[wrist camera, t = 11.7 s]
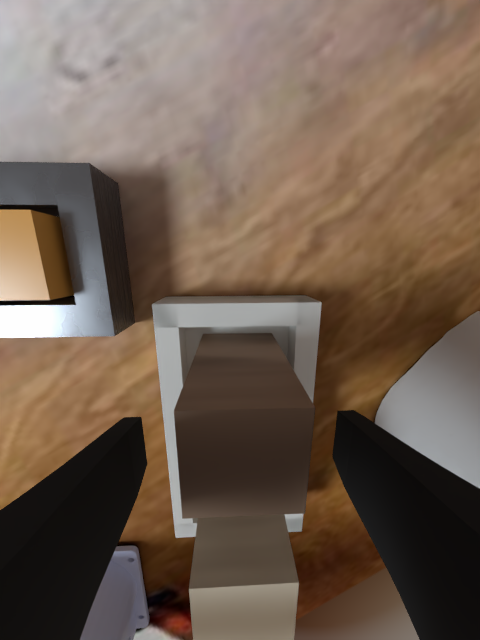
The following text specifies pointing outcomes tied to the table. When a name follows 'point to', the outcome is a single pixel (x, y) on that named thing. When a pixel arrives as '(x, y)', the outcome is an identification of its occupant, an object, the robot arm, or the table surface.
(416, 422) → the toilet tissue
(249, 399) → the block
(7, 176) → the button housing
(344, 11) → the table surface
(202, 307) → the light grey rectangular frame
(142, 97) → the table surface
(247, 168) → the table surface
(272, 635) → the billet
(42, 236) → the button
